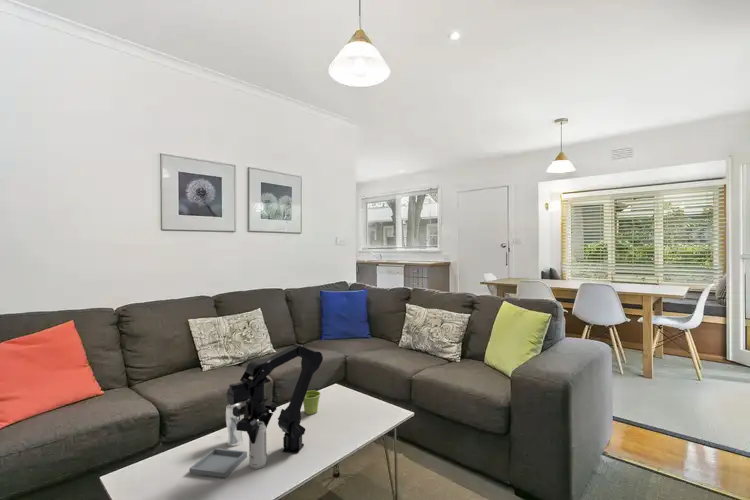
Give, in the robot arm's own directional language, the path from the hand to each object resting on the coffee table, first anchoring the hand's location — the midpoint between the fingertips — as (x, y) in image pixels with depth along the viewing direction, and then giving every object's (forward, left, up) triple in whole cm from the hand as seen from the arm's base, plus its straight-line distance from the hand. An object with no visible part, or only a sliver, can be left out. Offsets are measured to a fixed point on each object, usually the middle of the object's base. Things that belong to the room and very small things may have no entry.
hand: (257, 438), depth 138 cm
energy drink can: (0, 0, -10) cm, 10 cm away
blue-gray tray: (+14, +3, -10) cm, 17 cm away
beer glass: (+18, -13, -10) cm, 24 cm away
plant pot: (-2, -46, -10) cm, 47 cm away
